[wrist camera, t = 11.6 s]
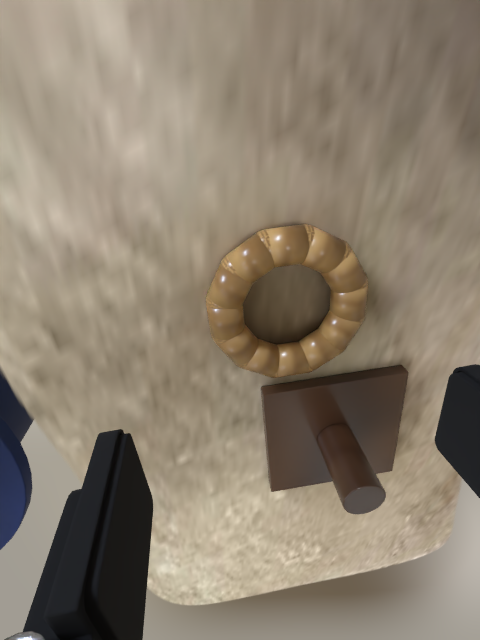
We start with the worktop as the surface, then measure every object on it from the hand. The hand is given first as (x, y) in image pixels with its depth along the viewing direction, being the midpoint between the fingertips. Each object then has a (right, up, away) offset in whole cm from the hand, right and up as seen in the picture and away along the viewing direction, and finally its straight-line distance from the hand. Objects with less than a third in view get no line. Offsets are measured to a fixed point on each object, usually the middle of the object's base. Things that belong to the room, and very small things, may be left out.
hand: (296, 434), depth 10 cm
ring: (+1, +4, +7) cm, 8 cm away
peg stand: (+4, -4, +13) cm, 14 cm away
